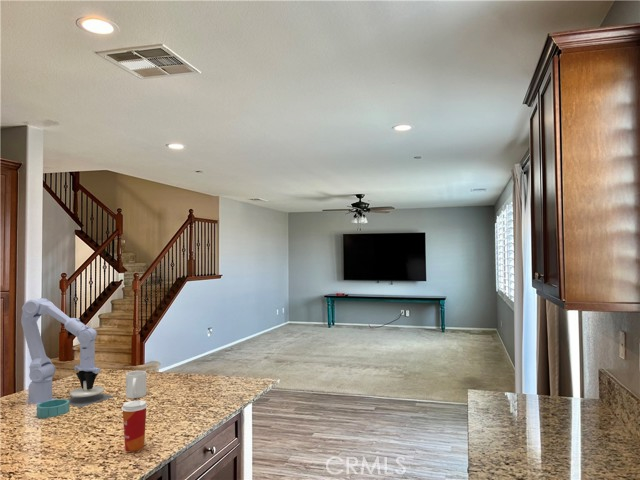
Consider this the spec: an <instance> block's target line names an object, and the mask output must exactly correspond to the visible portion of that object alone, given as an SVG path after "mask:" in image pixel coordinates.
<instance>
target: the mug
mask: <svg viewBox="0 0 640 480" xmlns="http://www.w3.org/2000/svg"><path fill="white" fill-rule="evenodd" d="M125 375H126V376H125V396H126V397H125V398H127V399H138V398H143V397H146V395H147V371H145V370H133V371H130V372H127V373H126V374H125Z"/></svg>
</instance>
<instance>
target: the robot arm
mask: <svg viewBox="0 0 640 480" xmlns="http://www.w3.org/2000/svg"><path fill="white" fill-rule="evenodd" d="M21 311H22V313H21V319H20V324H21V326H22V330H23V334H24V337H25V341H26V344H27V348H28V351H29V356H30V359H31V362H30V363H29V366H28V368H29V379H30V380H31V382H30V383H29V385H28V391H27V393H28V398H27V400H26V401H25V402H26V403H27V402H28V403H30V404H34V405H38V404H40V403H42V402H45V401H49V400H56V399H57V398H54V397H53V376H54V375H55V372H56V371H57V370H56V366H55V364H53V363H52V359H51V358H49V357H48V356H47V354H46V350H45V348H44V347H45V345H44V343H43V340H42V336H41V333H40V330H39V326H38V320H39V319H40V317H41V316H42V315H49V316H50V317H52V318H53V319H55V320H57V321H58V322H60V323H61V324H64V329H65V330H66V331H68V332H69V333H71V334H72V335H74V336H75V337H76V338H77V341H78V342H79V364H76V365H74V371H77V372H75V373H76V374H75V375H76V376H77V378H78V380H79V383H80V386H81V387H80V388H82V389H83V381H85V380H86V385H87V390H89V389H92V388H93V386H94V384H95V380H96V378H97V377H98V375H99V374H100V373H101V368H100V367H97V366H96V365H95V364H96V363H95V360H96V358H95V357H96V353H95V352H96V351H95V350H96V347H95V346H96V345H95V344H96V342H95V341H96V339H97V337H98V331H97V330H96V329H95V327H89V325H86V324H85V323H83V322H82V321H81V318H76V317H70V316H68V315H67V314H66V313H65V312H63V311H62V310H61V309H60V308H58V307H57V306H56V305H55V304H54V303H53V302H52V301H50V300H49V299H48V298H45V297H41V298H36V299H29V300H27V301H26V302H25V303H24V304H23V306H22V307H21Z"/></svg>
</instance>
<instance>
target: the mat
mask: <svg viewBox="0 0 640 480" xmlns="http://www.w3.org/2000/svg"><path fill="white" fill-rule="evenodd" d="M113 398H116V396H114V395H109V394H105V393H100V394H97V395H93V396H87V397H70V398H67V399H66V400H69V406H74V407H78V408H84V407H87V406H90V405H94V404H97V403H100V402H102V401H106V400H109V399H113Z"/></svg>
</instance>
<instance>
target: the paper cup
mask: <svg viewBox="0 0 640 480" xmlns="http://www.w3.org/2000/svg"><path fill="white" fill-rule="evenodd" d="M147 408H148V404H147V402H146V401H145V400H140V399H139V400H130V401H126V402H124V403H123V405H122V407H121V411H122V417H123V418H122V422H123V436H124V437H123V438H124V448H125V451H126V452H136V451H139V450H142V449H143V448H144V447H145V437H146V436H145V435H146V434H145V433H146V418H147Z"/></svg>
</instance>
